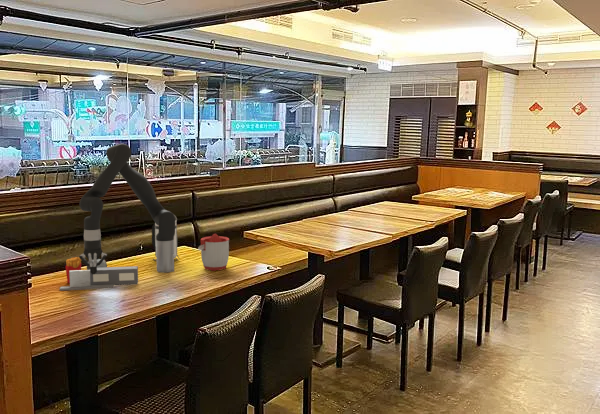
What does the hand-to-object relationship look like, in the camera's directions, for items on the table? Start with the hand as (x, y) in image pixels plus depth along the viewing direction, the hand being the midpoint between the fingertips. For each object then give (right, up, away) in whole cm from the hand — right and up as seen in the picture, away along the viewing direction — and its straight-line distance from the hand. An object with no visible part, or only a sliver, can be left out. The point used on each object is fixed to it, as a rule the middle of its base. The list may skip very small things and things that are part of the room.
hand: (93, 273), depth 257 cm
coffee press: (+19, +1, +59) cm, 62 cm away
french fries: (-14, -5, +12) cm, 19 cm away
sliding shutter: (-6, -6, 0) cm, 9 cm away
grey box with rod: (+1, -7, +5) cm, 8 cm away
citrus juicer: (+51, -3, +41) cm, 65 cm away
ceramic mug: (-10, -3, +28) cm, 30 cm away
